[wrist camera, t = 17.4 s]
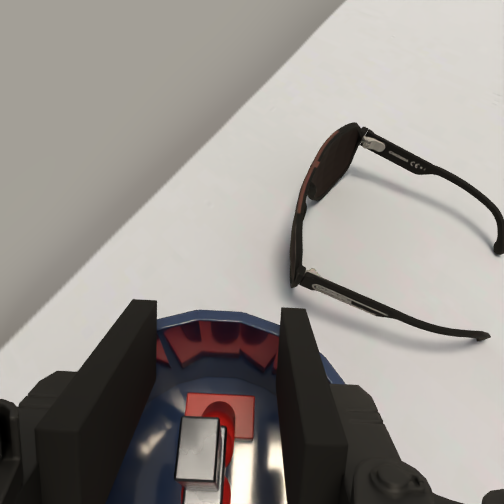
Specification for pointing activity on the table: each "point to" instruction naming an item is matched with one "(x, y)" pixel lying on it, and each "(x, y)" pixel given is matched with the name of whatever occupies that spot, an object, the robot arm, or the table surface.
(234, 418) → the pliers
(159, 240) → the table surface
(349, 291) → the sunglasses
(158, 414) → the pen cup
